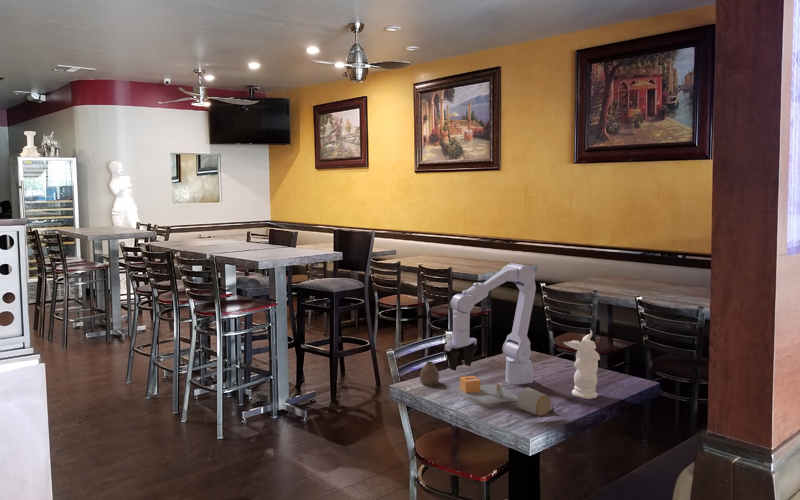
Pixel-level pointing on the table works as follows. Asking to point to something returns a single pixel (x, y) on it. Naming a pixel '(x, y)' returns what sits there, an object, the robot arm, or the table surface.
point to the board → (487, 395)
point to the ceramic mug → (534, 402)
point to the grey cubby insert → (499, 390)
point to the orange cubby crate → (469, 384)
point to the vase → (429, 374)
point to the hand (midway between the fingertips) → (460, 367)
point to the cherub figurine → (585, 367)
